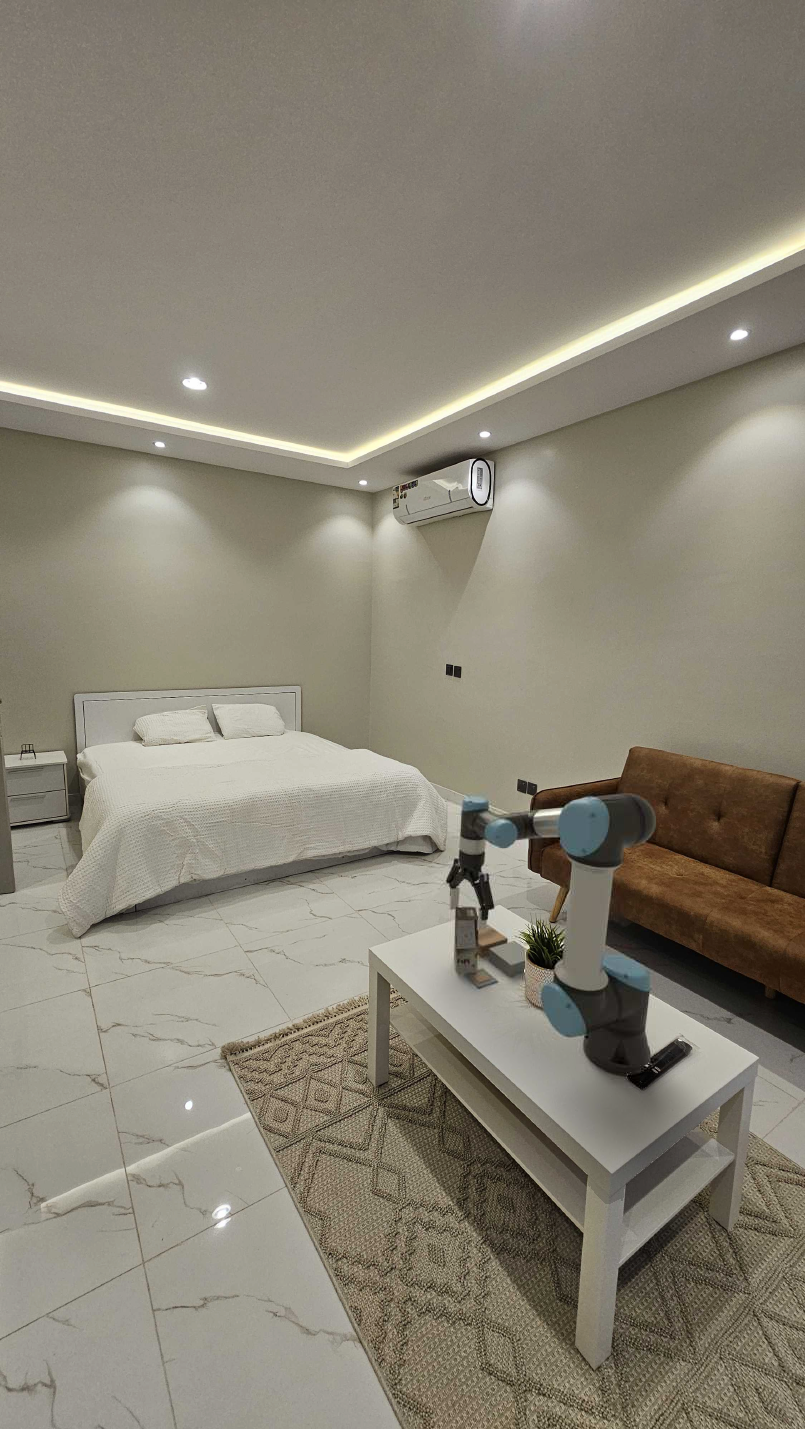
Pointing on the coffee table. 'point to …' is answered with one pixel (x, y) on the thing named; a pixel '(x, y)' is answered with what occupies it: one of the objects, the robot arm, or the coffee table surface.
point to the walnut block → (489, 940)
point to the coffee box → (466, 940)
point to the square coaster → (480, 978)
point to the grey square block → (508, 958)
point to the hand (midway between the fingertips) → (467, 918)
